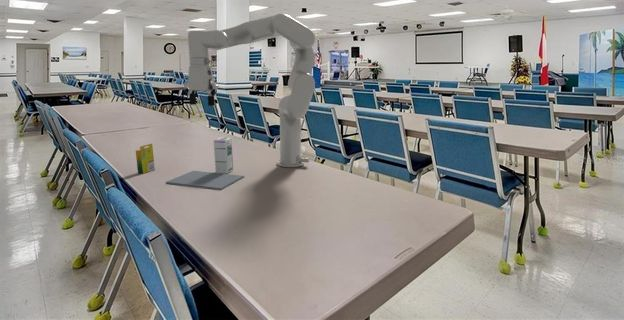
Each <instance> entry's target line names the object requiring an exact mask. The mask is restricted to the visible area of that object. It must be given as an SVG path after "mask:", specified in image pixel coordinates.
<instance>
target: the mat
mask: <svg viewBox="0 0 624 320" xmlns="http://www.w3.org/2000/svg"><path fill="white" fill-rule="evenodd" d="M244 178H245V175H241V174H240V175H239V174H231V173H228V174H225V173H216V172H210V171H200V170H191V171H189V172H187V173H183V174H182V175H180V176H176V177H174V178H172V179H169V180H167V181H165V184H170V185H176V186H185V187H194V188H195V187H196V188H202V189H211V190H219V191H222V190H224V189H225V188H227V187H229V186H231V185H233V184H235V183H236V182H238V181H241V180H242V179H244Z"/></svg>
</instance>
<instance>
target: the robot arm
mask: <svg viewBox="0 0 624 320" xmlns="http://www.w3.org/2000/svg"><path fill="white" fill-rule="evenodd" d="M280 36H281V37H283V38H285V39H287V40H288V42H289V45H290V46H291V48H292V50H293V51H294V55H295V57H294V62H293V65H292V68H291V71H290V74H289V78H288V81H287V87H288V89H289V90H290V95H288V94H287V95H284V96H283V97H282V98H281V99H280V101H279V102H278V117H279V158H280V159H279V160H277V161H276V165H277V166H278V167H282V168H298V167H303V166H304V165H305V163H310V158H309V157H304V156H303V155H304V154H303V153H302V152H301V151H302V148H301V147H302V137H301V136H302V122H301V121H302V120H301V119H302V118H303V117H304V116H306V114H307V112H308V110H309V108H310V104H311V100H313V99H312V98H313V95H314V91H315V87H316V82H315V78H314V77H313V75H312V72H313V68H314V65H315V53H314V49H313V46H314V45H315V42H316V37H315V34H314V32H313V31H312V29H310V28H309V27H308V26H306V25H304V24H303V23H301V22H299V21H298V20H296V19H294V18H293V17H291V16H290V15H288V14H286V13H282V12H281V13H276V14H275V15H274V14H273V15H271V16H267V17H262V18H259V19H254V20H249V21H246V22H243V23H241V24H238V25H236V26H233V27H229V28H226V29H222V30H219V29H216V30H207V31H206V30H194V29H193V30H190V31H188V33H187V40H188V41H187V42H188V44H187V45H188V57H189V58H188V59H189V66H188V76H187V78H188V81H186V82H185V83H184V84H183V87H184V89H185V91H186V93H187V95H188V96H189V98H188V99H189V105H190V106H194V105H197V96H196V92H206V93H207V95H208V96H207V105H208V107H212V106H213V107H214V106H215V96H216V94H217V92H218V89H219V84H217V82H215V80H214V75H213V74H214V73H213V69H212V66H210V63H211V60H210V57H209V56H210V55H209V49H211V50H213V51H220V50H223V49H224V50H225V49H228V48H231V47H236V46H240V45H248V44H254V43H258V42H261V41H265V40H269V39H274V38H277V37H280Z"/></svg>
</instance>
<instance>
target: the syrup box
mask: <svg viewBox="0 0 624 320" xmlns="http://www.w3.org/2000/svg"><path fill="white" fill-rule="evenodd" d="M232 144H233V143H232V137H227V136H226V137H223V136H221V137H218V138H216V139H213V153H214V166H215V167H214V169H215V173H221V174H230V173H231V172H232V171H234V163H233V145H232Z"/></svg>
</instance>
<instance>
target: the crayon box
mask: <svg viewBox="0 0 624 320" xmlns="http://www.w3.org/2000/svg"><path fill="white" fill-rule="evenodd" d="M139 148H140V149H137V150H135V156H136V167H137V168H136V169H137V173H138V174H142V175H143V174H146V173H149V172H151V171H155V170H156V168H155V159H154V158H155V157H154V148H153V143H149V144H145V145H141V146H140V147H139Z"/></svg>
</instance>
